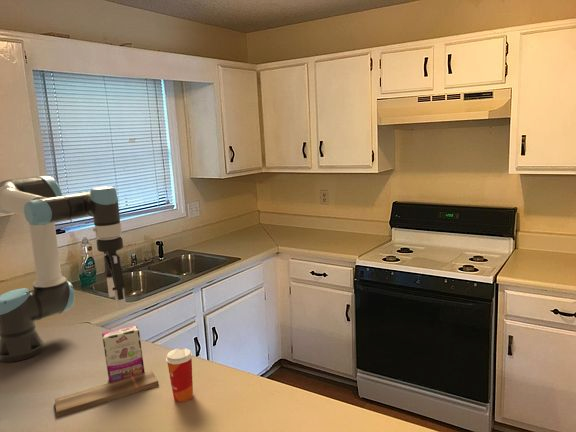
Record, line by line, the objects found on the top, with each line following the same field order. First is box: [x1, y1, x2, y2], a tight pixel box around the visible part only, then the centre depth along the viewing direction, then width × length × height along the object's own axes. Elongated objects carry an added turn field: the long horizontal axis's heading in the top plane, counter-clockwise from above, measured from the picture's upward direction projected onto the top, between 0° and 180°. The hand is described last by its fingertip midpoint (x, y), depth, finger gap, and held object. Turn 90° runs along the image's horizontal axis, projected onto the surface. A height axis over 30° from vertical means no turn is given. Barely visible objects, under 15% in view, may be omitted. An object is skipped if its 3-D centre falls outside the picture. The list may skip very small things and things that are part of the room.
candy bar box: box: [101, 324, 146, 383], centre depth 152 cm, size 11×5×16 cm, turn 116°
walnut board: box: [54, 370, 160, 418], centre depth 144 cm, size 8×29×2 cm, turn 120°
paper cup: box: [165, 347, 194, 403], centre depth 139 cm, size 8×8×14 cm
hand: (117, 302), depth 149 cm, fingers open, 13 cm apart
